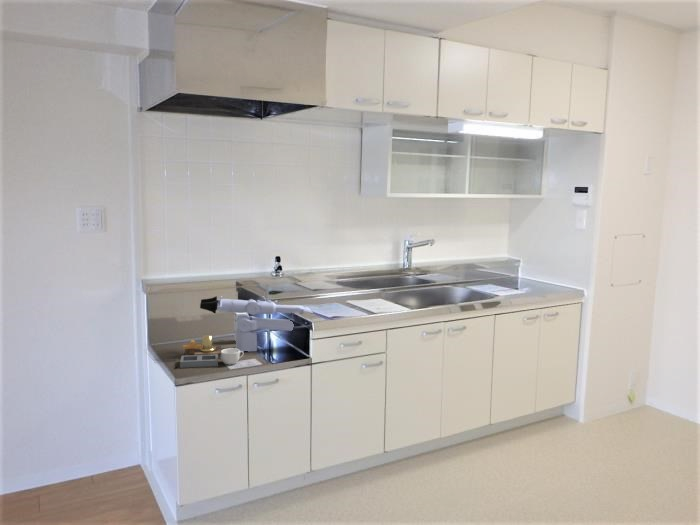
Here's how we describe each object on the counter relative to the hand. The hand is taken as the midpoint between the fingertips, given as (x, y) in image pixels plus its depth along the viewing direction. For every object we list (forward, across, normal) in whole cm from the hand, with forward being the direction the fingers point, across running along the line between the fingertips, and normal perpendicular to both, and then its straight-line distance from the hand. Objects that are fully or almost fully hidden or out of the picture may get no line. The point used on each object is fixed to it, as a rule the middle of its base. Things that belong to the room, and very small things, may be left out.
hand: (200, 303), depth 256 cm
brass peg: (-5, +7, +21) cm, 23 cm away
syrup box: (-20, -13, +20) cm, 31 cm away
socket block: (-3, +7, +22) cm, 23 cm away
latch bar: (+2, +7, +18) cm, 20 cm away
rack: (-2, +18, +22) cm, 28 cm away
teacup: (-16, +18, +21) cm, 32 cm away
